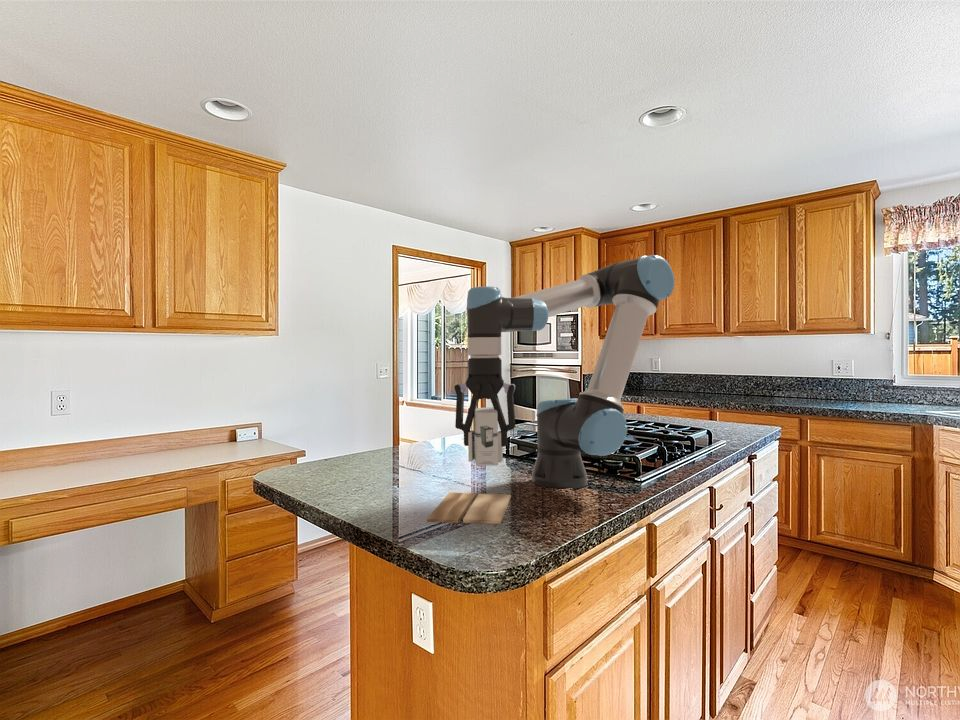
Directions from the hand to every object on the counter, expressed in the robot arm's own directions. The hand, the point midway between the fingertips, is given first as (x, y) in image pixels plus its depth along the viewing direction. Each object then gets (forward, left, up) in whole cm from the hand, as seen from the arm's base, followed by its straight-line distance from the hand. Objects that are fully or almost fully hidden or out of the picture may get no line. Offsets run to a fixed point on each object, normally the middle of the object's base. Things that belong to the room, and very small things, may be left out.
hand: (485, 460), depth 112 cm
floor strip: (+8, -2, -12) cm, 15 cm away
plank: (0, -2, -12) cm, 12 cm away
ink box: (0, 0, 0) cm, 0 cm away
